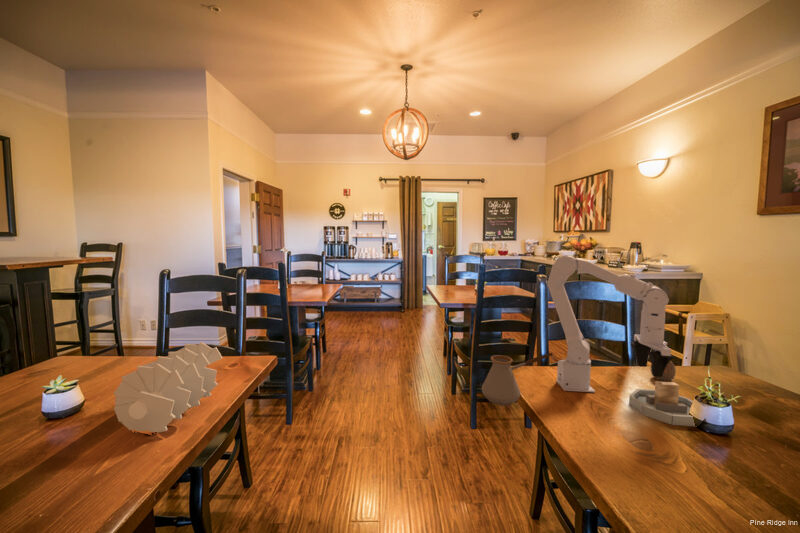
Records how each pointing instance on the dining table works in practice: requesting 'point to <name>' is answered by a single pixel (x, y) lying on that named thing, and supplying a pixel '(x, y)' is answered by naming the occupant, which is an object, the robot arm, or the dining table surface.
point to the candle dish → (658, 414)
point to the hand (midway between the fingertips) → (649, 371)
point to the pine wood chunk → (666, 392)
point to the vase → (667, 373)
